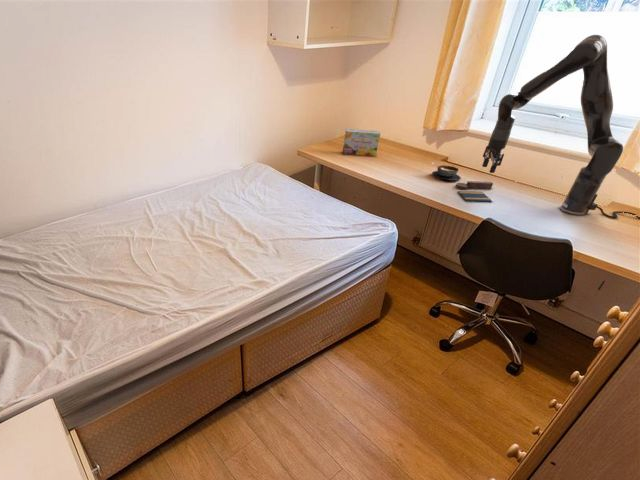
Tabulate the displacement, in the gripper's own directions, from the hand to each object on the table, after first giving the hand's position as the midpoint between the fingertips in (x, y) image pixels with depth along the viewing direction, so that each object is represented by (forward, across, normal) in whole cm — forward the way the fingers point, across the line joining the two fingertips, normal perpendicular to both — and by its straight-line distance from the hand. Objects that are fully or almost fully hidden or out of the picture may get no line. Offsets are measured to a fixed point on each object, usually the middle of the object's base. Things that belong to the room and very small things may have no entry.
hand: (487, 169), depth 194 cm
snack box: (+9, -52, -56) cm, 76 cm away
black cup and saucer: (+10, -14, -14) cm, 22 cm away
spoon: (+10, 0, -5) cm, 11 cm away
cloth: (+10, +13, -9) cm, 18 cm away
